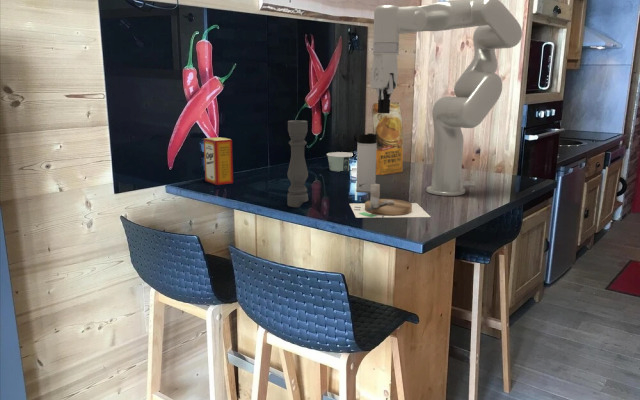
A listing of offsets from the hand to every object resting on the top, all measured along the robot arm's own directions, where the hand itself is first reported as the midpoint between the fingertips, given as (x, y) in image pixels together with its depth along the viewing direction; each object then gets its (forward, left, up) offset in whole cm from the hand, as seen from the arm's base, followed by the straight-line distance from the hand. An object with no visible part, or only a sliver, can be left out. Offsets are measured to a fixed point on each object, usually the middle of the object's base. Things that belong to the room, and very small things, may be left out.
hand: (383, 113), depth 163 cm
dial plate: (+1, +18, -27) cm, 33 cm away
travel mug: (+3, -12, -27) cm, 30 cm away
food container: (+7, -58, -27) cm, 64 cm away
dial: (+2, +19, -25) cm, 32 cm away
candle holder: (+26, +5, -27) cm, 38 cm away
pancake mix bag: (-11, -50, -27) cm, 58 cm away
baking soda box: (+54, -32, -27) cm, 68 cm away
